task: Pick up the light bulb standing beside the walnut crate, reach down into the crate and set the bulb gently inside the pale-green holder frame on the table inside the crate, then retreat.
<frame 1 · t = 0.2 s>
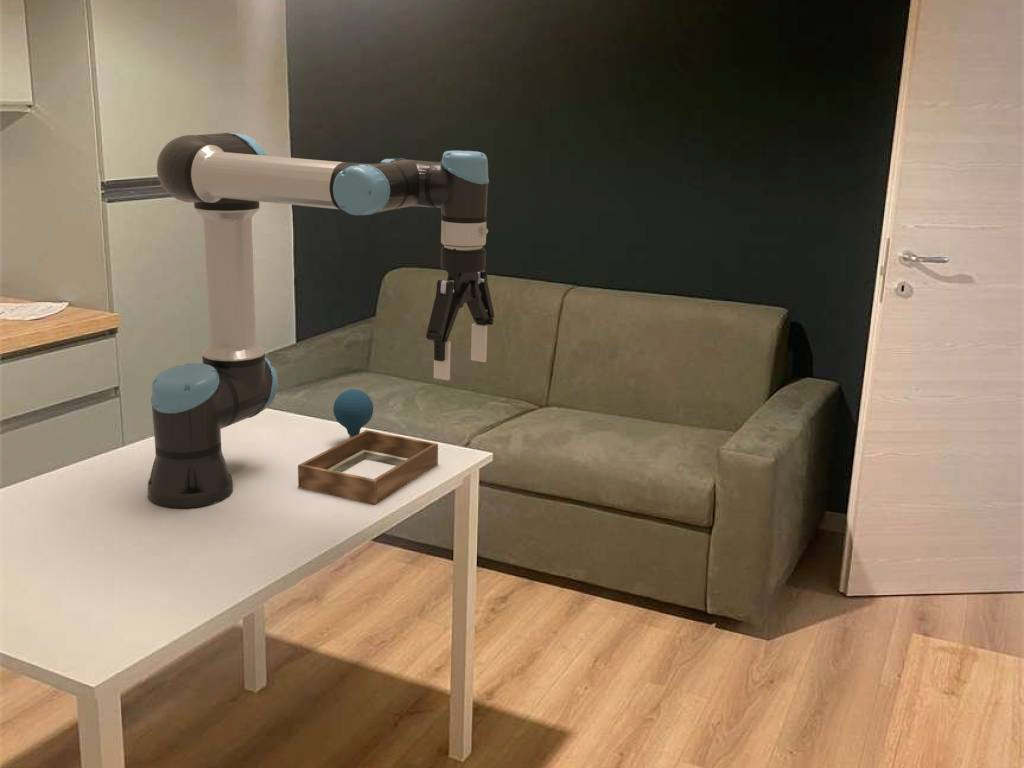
hand: (460, 369, 181), 28 cm above the table, fingers open, 13 cm apart
light bulb: (353, 444, 225), on the table
crate: (370, 475, 208), on the table
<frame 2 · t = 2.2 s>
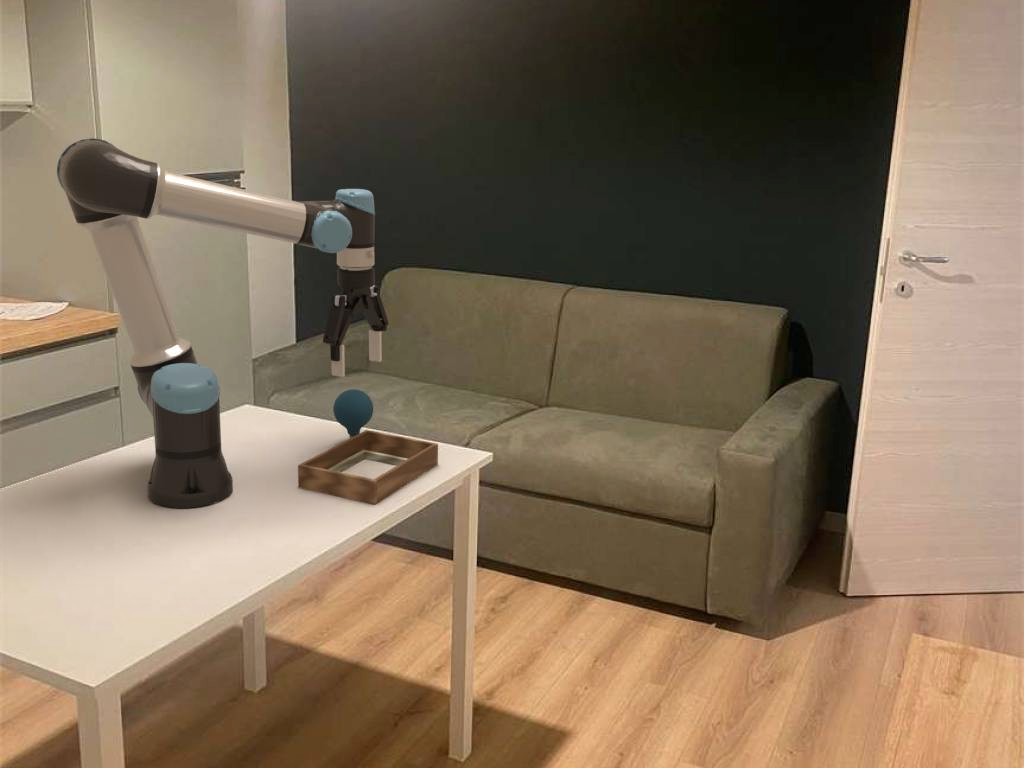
hand: (357, 368, 219), 17 cm above the table, fingers open, 13 cm apart
nothing on the table moved.
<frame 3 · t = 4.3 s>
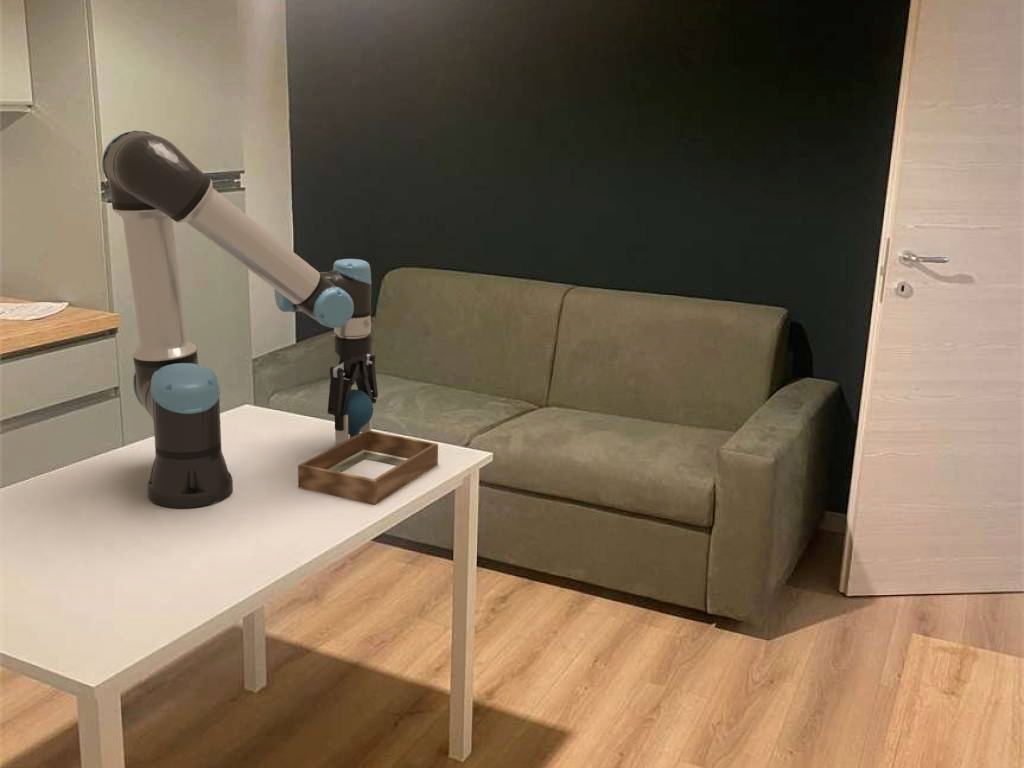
hand: (353, 437, 225), 1 cm above the table, fingers closed on light bulb, 8 cm apart
light bulb: (353, 444, 225), on the table, touching gripper
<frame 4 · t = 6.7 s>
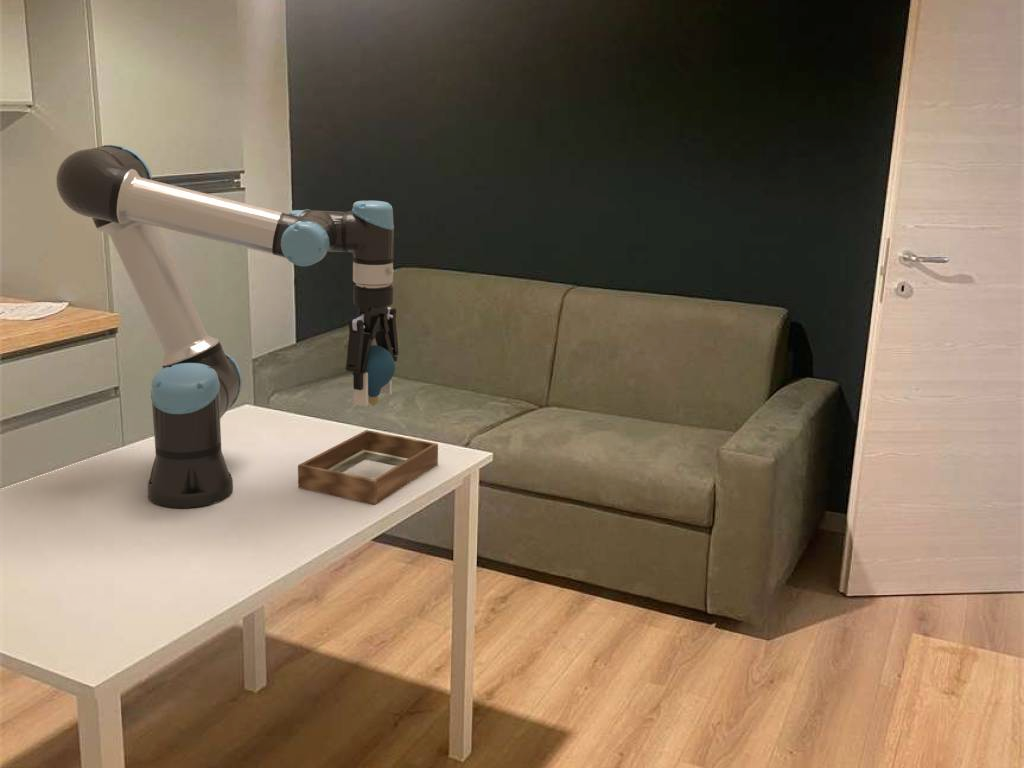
hand: (373, 398, 205), 15 cm above the table, fingers closed on light bulb, 8 cm apart
light bulb: (373, 406, 206), point 14 cm above the table, touching gripper
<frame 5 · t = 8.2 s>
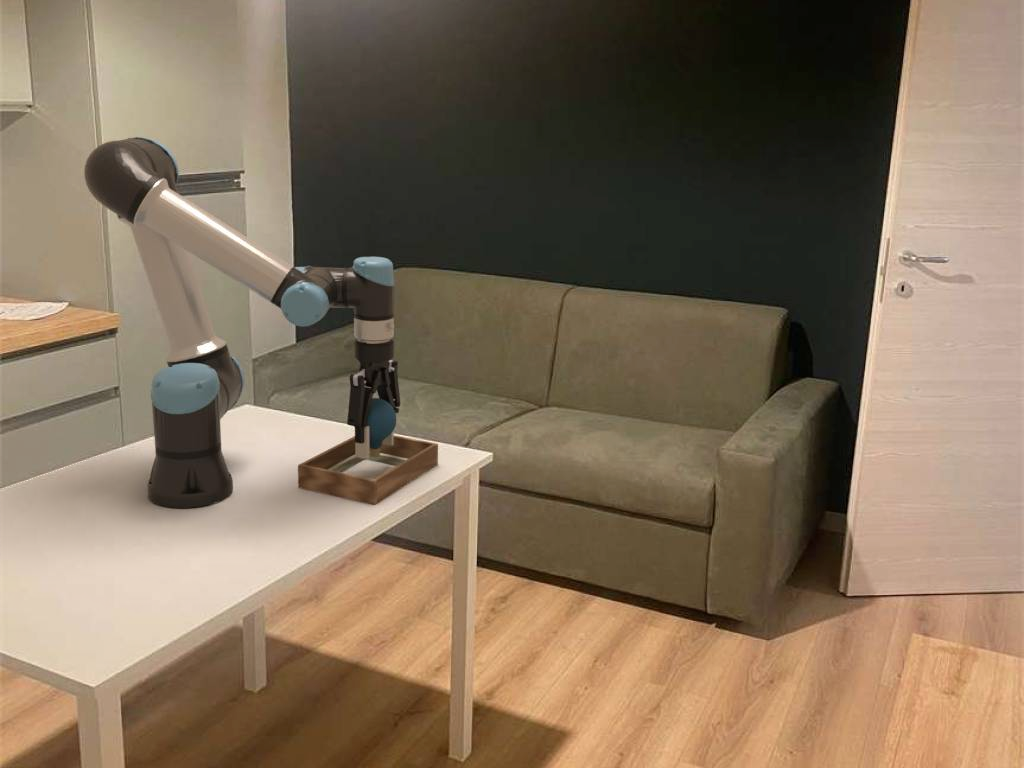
hand: (374, 450, 208), 5 cm above the table, fingers closed on light bulb, 8 cm apart
light bulb: (375, 458, 208), point 3 cm above the table, touching gripper
when the fingers open (2 cm above the table, at t = 9.1 s): light bulb stays where it is, resting in crate.
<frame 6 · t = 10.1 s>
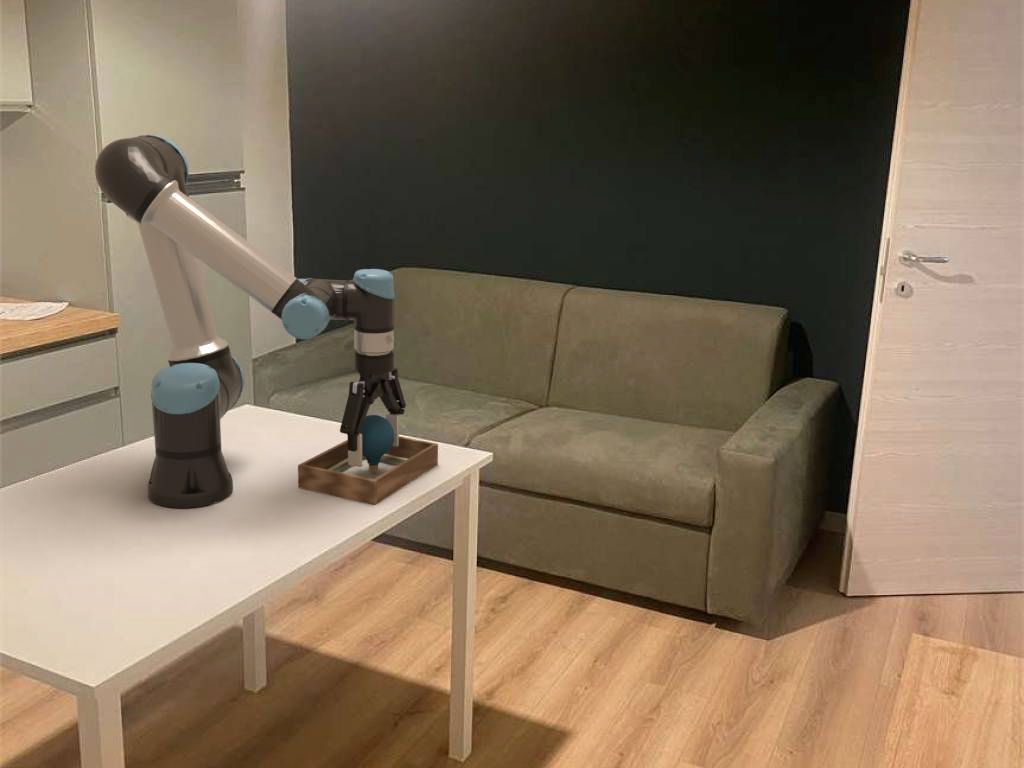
hand: (374, 455, 208), 4 cm above the table, fingers open, 13 cm apart
light bulb: (373, 474, 209), resting in crate
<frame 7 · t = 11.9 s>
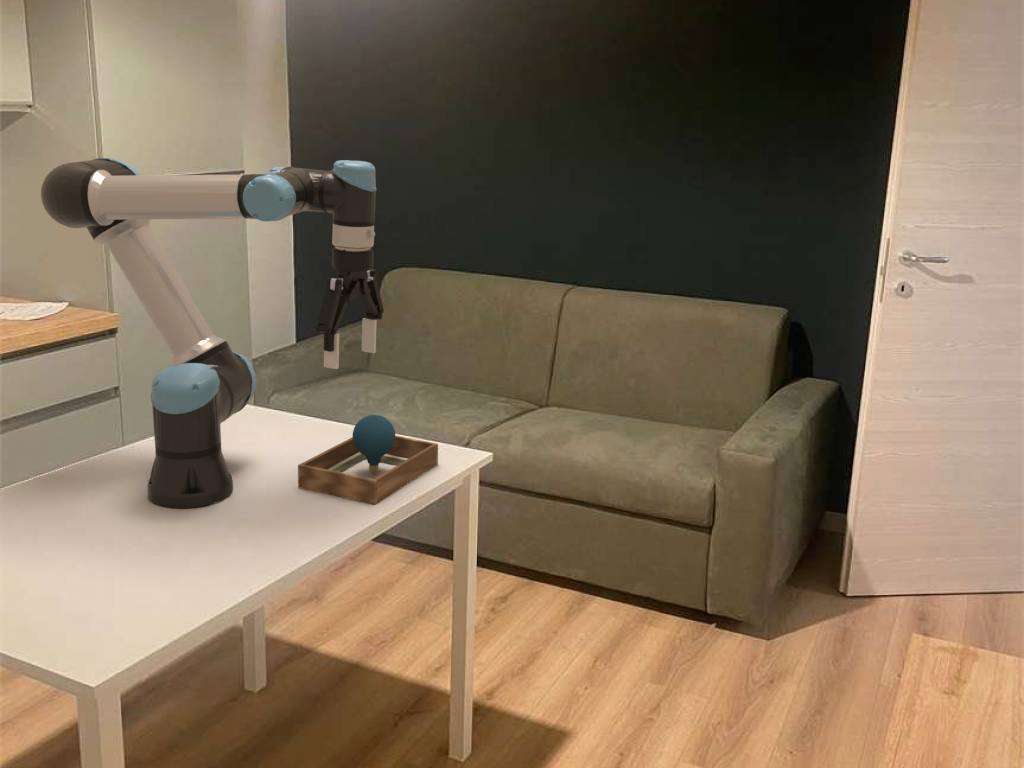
hand: (350, 359, 198), 24 cm above the table, fingers open, 13 cm apart
nothing on the table moved.
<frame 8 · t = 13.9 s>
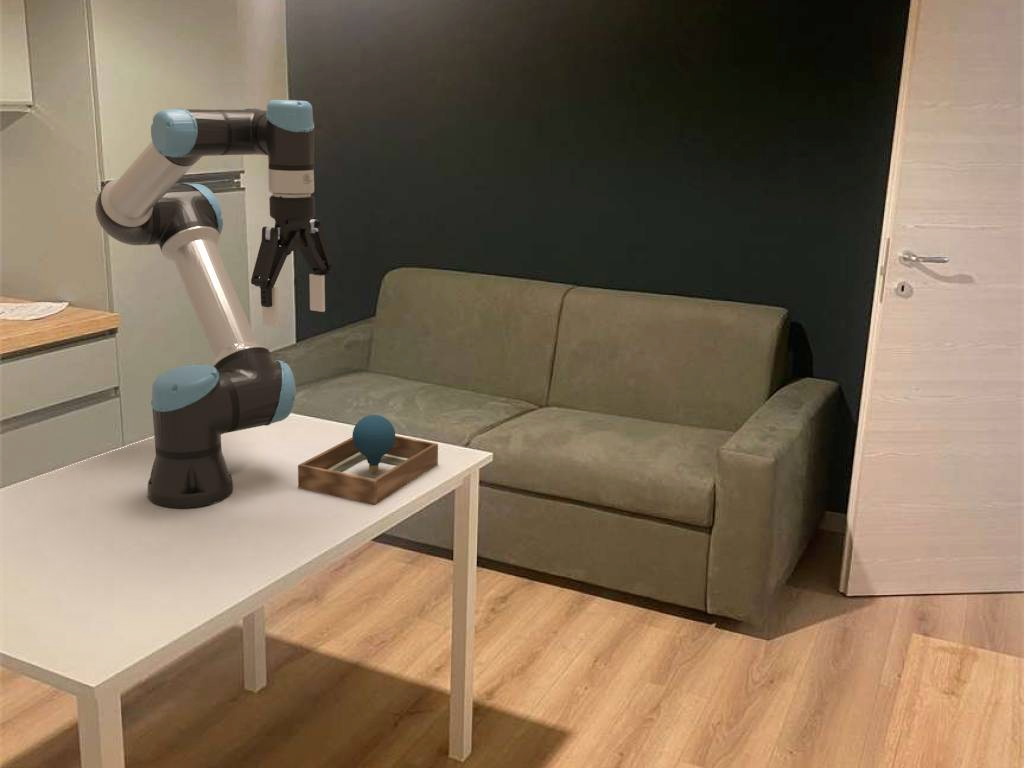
hand: (294, 317, 184), 35 cm above the table, fingers open, 13 cm apart
nothing on the table moved.
at the end: light bulb inside the target area on the crate (0.2 cm from its centre), point 0.0 cm above the crate's base; the gripper is holding nothing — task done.
